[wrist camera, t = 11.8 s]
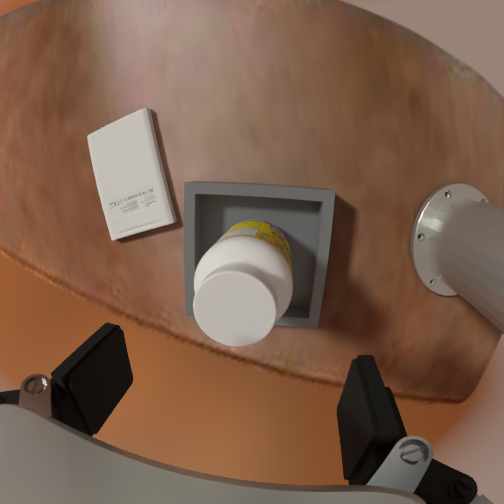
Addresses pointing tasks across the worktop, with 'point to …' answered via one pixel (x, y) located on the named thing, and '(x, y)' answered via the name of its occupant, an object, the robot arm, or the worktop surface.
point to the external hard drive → (131, 175)
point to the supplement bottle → (243, 283)
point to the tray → (277, 213)
